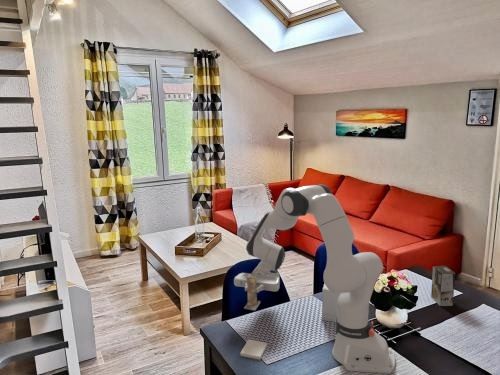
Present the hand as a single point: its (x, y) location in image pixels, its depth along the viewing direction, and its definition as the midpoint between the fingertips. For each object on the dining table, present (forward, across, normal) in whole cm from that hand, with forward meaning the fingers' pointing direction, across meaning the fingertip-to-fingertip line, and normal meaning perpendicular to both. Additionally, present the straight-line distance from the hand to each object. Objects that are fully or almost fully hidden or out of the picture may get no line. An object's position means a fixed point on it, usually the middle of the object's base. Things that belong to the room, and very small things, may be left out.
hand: (251, 290), depth 160 cm
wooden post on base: (-1, 0, +8) cm, 8 cm away
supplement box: (-18, +32, +17) cm, 41 cm away
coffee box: (-46, +79, +17) cm, 93 cm away
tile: (+11, +6, +16) cm, 21 cm away
